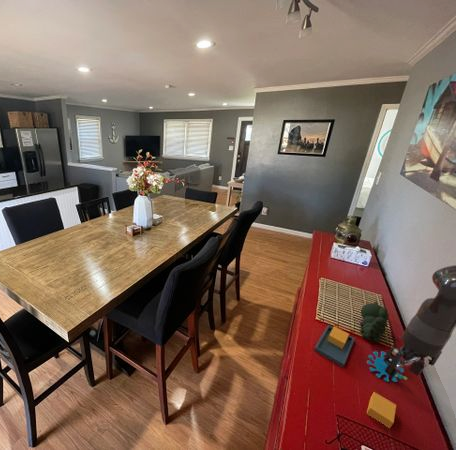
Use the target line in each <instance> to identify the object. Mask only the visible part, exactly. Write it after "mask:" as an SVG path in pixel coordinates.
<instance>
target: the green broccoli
mask: <svg viewBox="0 0 456 450" xmlns="http://www.w3.org/2000/svg"><path fill="white" fill-rule="evenodd" d="M360 315H361V317H362V318H363V319H362V321H360V322H359V325H360V327H361V328H360V329H359V332H360V334H361V338H362V339H370V340H372V342H373V343H374V344H379V343H380V341H381V340H380V339H381V338H382V337H384V332H386V331H387V329H386V327H388V321H389V312H388V309H387V308H386V307H384V306H382V305H380V304H379V303H378V301H374V302H373V303H366V304H364V305H363V306H362V307H361V309H360ZM362 333H363V334H362Z"/></svg>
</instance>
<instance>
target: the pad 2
mask: <svg viewBox="0 0 456 450" xmlns="http://www.w3.org/2000/svg"><path fill="white" fill-rule="evenodd" d="M396 410H397V404H396V403H394V402H392V401H391V400H389V399H387V398H385V397H384V396H382V395H381V394H379V393H377V392H376V391H373V393H372V395H371V396H370V398H369V401H368V407H367V410H366V415H367V416H369V417H370V416H371V417H370V418H372V419H373V418H374V419H373V420H375V419H376V420H377V421H376V420H375V421H376V422H378V421H379V422H381V423H382V424H384V425H385V426H386V427H385V426H384V425H383V426H384V427H385V428H387V427H388V428H389V430H390V429H391V428H392V426H393V425H394V423H395V417H396ZM379 422H378V423H379ZM381 423H380V424H381ZM382 424H381V425H382ZM388 428H387V429H388Z"/></svg>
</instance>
